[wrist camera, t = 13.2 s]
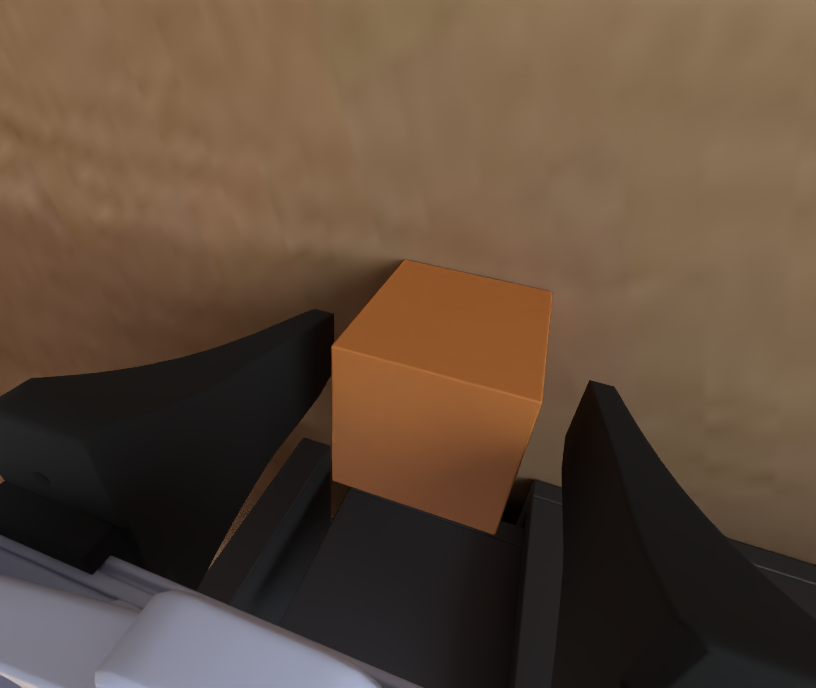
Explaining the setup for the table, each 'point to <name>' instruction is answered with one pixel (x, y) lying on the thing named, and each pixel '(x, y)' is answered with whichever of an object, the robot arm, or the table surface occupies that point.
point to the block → (440, 391)
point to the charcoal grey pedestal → (544, 580)
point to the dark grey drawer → (375, 578)
